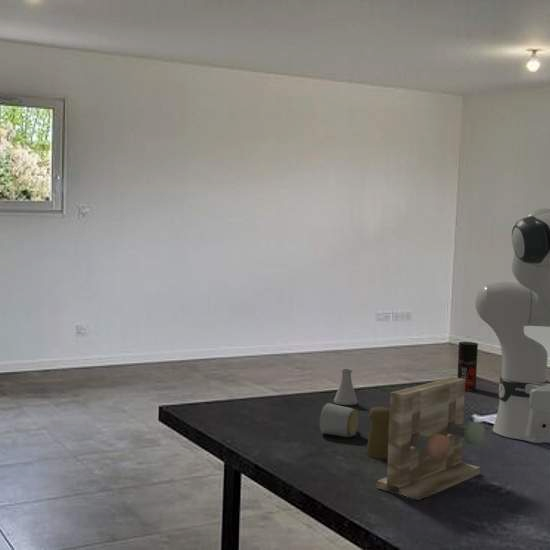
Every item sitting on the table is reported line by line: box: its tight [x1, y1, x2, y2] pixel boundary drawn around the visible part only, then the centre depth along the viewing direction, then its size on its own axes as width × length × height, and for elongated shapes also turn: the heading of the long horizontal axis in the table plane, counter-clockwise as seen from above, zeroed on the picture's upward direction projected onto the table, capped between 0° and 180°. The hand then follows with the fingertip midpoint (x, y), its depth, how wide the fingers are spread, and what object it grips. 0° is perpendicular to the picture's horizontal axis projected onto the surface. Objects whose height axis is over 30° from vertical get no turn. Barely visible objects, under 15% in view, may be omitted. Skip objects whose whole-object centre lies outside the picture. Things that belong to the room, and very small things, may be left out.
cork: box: [365, 406, 390, 459], centre depth 184 cm, size 6×6×11 cm
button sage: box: [448, 421, 486, 447], centre depth 169 cm, size 7×5×5 cm, turn 47°
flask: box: [333, 368, 359, 406], centre depth 235 cm, size 7×7×10 cm
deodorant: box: [456, 341, 479, 392], centre depth 259 cm, size 6×6×15 cm
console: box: [376, 376, 481, 501], centre depth 166 cm, size 10×24×20 cm, turn 137°
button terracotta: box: [411, 433, 450, 459], centre depth 159 cm, size 7×5×5 cm, turn 47°
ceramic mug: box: [319, 402, 360, 438], centre depth 201 cm, size 11×8×8 cm
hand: (528, 387), depth 159 cm, fingers closed
